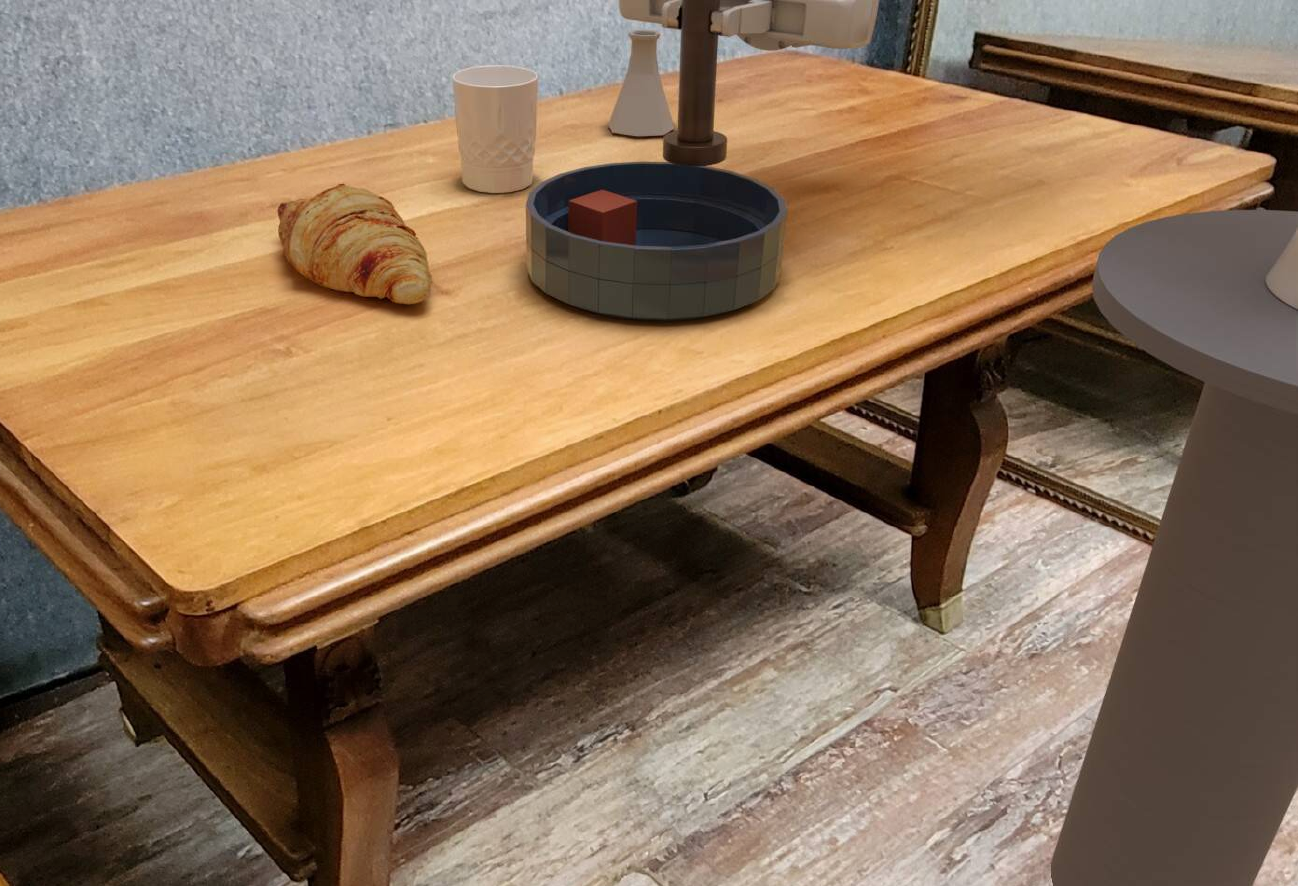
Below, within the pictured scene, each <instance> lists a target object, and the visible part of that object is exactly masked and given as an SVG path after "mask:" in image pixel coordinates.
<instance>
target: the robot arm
mask: <svg viewBox="0 0 1298 886" xmlns="http://www.w3.org/2000/svg"><path fill="white" fill-rule="evenodd" d="M879 4H880V0H720V7H719V8H718V9H714V10H713V12H712V14H711V21H712V25H711V26H710V31H711V34H713V35H718V37H719V36H720V37H726V38H732V37H733V36H737V37H738V38H739V39H740V40H741V41H743V43H745V44H746V45H748V46H750V47H752V48H755V49H758V50H760V51H761V50H762V51H767V52H769V51H771V52H772V51H773V52H774V51H780V50H784V49H787V48H789V47H791V48H794V49H796V48H797V49H798V48H802V47H809V46H813V47H821V48H827V49H835V50H849V49H853V48H861V47H865V46H867V45H869V44H870V43H871V42H872V38H873V35H874V30H875V25H876V21H877V15H878V10H879ZM618 9H619V13H620V16H621V17H622V18H623V19H625V20H629V21H637V22H644V23H652V24H659V25H661V27H662V28H663V29H670V30H678V31H681V12H682V0H618ZM1265 281H1266V285H1267V287H1268V288H1269V290H1270V291H1271V292H1272V293H1273V294H1274V295H1275V296H1276V297H1277V298H1279V299H1280V300H1282V301H1283V302H1285V303H1286V304H1288V305H1290V306H1291V307H1293V308H1295V309H1297V310H1298V228H1297V229H1296V231H1295V233H1294V235H1293V237H1292V238H1291V240H1290V242H1289V243H1288V245H1287V246H1286V248H1285V250H1284V251H1283V253H1282V254H1281V256H1280V257H1279V259H1278V260H1277V262H1276V263H1275V265H1274V266H1273V267H1272V268H1271V270H1270V271H1269V272H1268V274H1267V275H1266V279H1265Z"/></svg>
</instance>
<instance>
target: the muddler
mask: <svg viewBox="0 0 1298 886" xmlns="http://www.w3.org/2000/svg"><path fill="white" fill-rule="evenodd" d="M719 7H720V0H682V12H681V30H680V40H679V41H680V45H679V46H680V47H679V77H678V105H677V130H675V131H672V132H671V131H670V132H668V133H666V134H665V135H663V137H662V158H663V160H664V161H665V162H670V163H673V164H677V165H682V166H713V165H718V164H720V163H722V162H724V161H725V160H726V158H727V153H728V152H727V151H728V138H727V135H725V134H723V133H721V132H719V131H715V129H714V128H715V108H716V90H717V71H718V70H717V69H718V68H717V67H718V48H719V35H713V34H711V31H710V26H711V25H712V21H711V14H712V12H713V10H714V9H718V8H719Z"/></svg>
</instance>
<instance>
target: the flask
mask: <svg viewBox="0 0 1298 886" xmlns="http://www.w3.org/2000/svg"><path fill="white" fill-rule="evenodd" d="M628 36H629V39H630V40H631V47H630V56H629V62H628V67H627V71H626V74H625V77H624V80H623V83H622V84H621V85H622V86H621V88H620V91H619V94H618V97H617V100H616V103H615V104H614V107H613V110H612V112H611V115H610V118H609V121H608V124H607V126H608V127H609V129H610V131H611V133H613V134H619V135H625V136H632V137H648V136H649V137H652V136H654V137H655V136H665V135H666V134H668V133H670V132H671V131H672V130H674V129H675V124H674V121H673V117H672V115H671V111H670V108H669V104H668V100H667V98H666V93H665V90H664V86H663V83H662V79H661V75H660V72H659V64H658V55H657V49H658V48H657V46H658V45H657V43H658V40H659V39H660V37H661V32H660V31H658V30H657V29H648V28H641V29H640V28H639V29H633V30H631V31H629V32H628Z"/></svg>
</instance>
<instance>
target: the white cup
mask: <svg viewBox="0 0 1298 886" xmlns="http://www.w3.org/2000/svg"><path fill="white" fill-rule="evenodd" d="M451 79H452V90H453V101H454V102H453V103H454V115H455V125H456V127H455V128H456V134H457V144H458V151H459V154H460V166H461V179H462V184H463V185H464V186H465V187H467V189H470V190H473V191H476V192H480V193H487V194H488V193H489V194H504V193H512V192H513V193H514V192H517V191H522V190H524V189H526V188H528V187H530V186H531V185H532V183H533V180H534V157H535V155H536V142H537V141H536V139H537V121H538V119H537V118H538V91H539V88H538V87H539V74H538V72H536V71H534V70H532V69H530V68H526V67H522V66H515V65H505V64H503V65H502V64H491V65H487V64H486V65H478V66H471V67H466V68H462V69H460V70H457V71H456V72H454V73H453V74H452V77H451Z"/></svg>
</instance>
